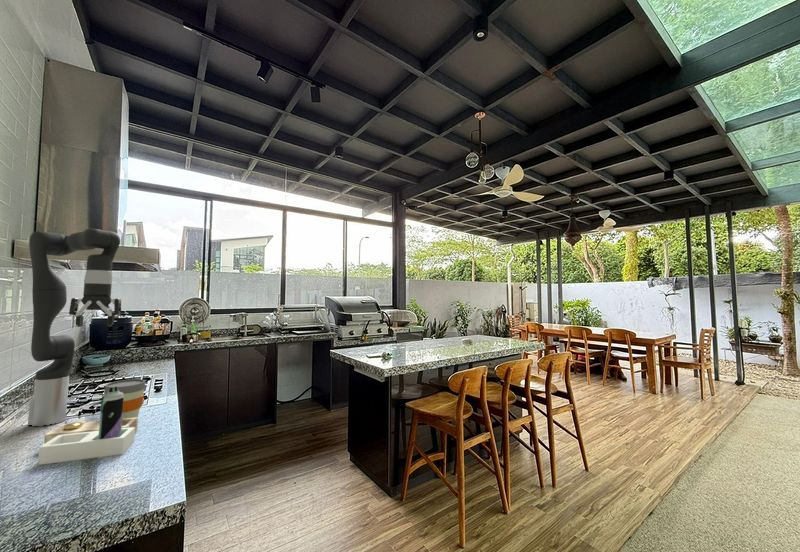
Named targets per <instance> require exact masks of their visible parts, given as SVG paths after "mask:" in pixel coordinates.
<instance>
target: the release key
mask: <svg viewBox="0 0 800 552" xmlns="http://www.w3.org/2000/svg"><path fill="white" fill-rule="evenodd" d="M82 423H83V422H82V421H76V422H75V421H74V422H70V423H66V424H67V425H65V426H64V430H73V429H78V428H80V427H82Z"/></svg>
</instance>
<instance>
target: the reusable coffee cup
mask: <svg viewBox="0 0 800 552" xmlns="http://www.w3.org/2000/svg"><path fill="white" fill-rule="evenodd" d="M113 387H117V389H118V390H119V392H122V393H124V394H123V395H124V400H123V413H122V419H124V418H135V417H138V418H139V414H140V409H141V407H142V406H143V401H144V397H145V394H144V390H145V389H146V380H144V379H140V378H139V379H138V378H137V379H136V378H135V379H122V380H117V381H112V382H110V383H109V382H108V383H107V384H105V386H104V390H103V395H105V394H106V393H107V392H108V391H109V390H110V388H113Z"/></svg>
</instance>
